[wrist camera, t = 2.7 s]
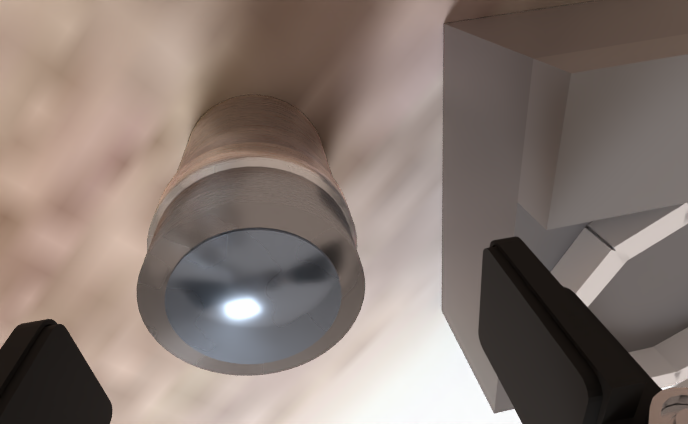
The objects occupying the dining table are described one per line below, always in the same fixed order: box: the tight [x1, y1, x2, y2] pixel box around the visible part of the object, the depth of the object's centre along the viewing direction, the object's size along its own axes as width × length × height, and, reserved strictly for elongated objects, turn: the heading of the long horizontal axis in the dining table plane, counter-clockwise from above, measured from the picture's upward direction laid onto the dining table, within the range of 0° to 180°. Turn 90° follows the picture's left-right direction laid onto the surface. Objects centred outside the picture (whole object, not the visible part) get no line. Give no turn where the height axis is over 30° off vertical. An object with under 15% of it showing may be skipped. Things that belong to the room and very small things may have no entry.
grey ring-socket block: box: [442, 0, 688, 413], centre depth 16 cm, size 14×11×8 cm
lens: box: [137, 95, 365, 375], centre depth 14 cm, size 6×6×8 cm
